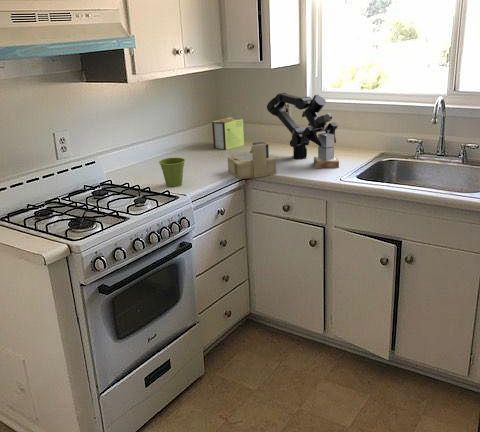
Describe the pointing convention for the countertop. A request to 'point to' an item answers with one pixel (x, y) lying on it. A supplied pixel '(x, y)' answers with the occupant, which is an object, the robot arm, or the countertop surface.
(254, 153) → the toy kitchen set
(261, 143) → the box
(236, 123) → the protein box
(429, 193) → the countertop surface
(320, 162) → the stand
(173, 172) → the plant pot
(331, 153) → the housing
